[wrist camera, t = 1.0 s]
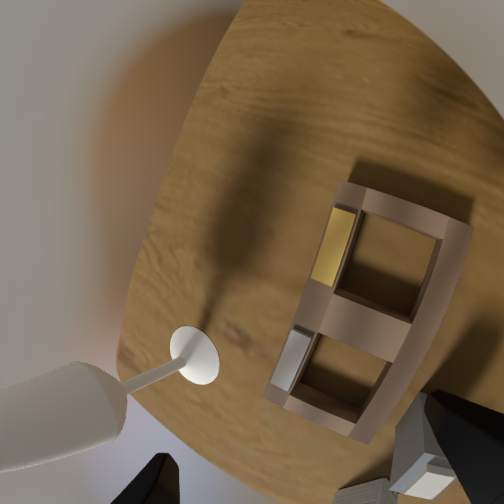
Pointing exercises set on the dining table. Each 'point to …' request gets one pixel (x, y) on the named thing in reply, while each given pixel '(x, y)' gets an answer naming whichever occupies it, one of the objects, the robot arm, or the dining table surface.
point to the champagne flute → (86, 403)
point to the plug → (418, 456)
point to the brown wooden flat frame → (366, 313)
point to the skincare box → (367, 494)
